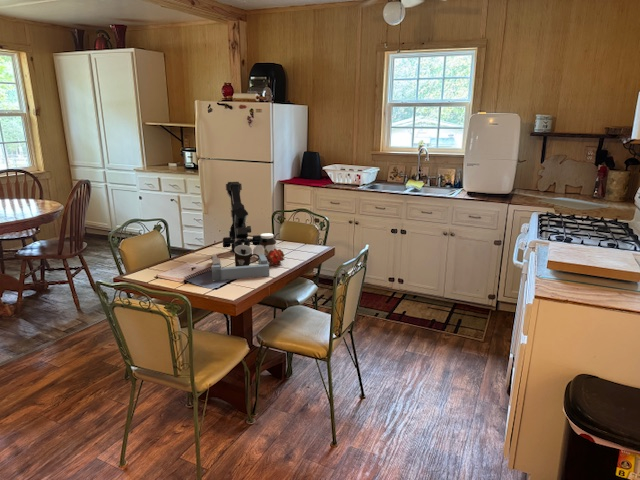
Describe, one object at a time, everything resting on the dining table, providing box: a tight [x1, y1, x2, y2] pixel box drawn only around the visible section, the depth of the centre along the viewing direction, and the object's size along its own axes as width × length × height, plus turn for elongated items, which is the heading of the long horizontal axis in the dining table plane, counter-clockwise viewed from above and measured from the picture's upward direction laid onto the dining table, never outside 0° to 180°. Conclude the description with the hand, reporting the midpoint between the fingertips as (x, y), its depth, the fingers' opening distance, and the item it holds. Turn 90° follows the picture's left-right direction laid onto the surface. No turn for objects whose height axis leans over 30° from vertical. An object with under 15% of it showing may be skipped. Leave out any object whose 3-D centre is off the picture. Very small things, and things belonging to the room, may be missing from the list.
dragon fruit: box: [266, 248, 286, 266], centre depth 227 cm, size 8×8×12 cm
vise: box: [211, 255, 270, 281], centre depth 212 cm, size 14×26×6 cm, turn 106°
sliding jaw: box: [210, 253, 222, 266], centre depth 218 cm, size 25×4×6 cm, turn 16°
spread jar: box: [252, 232, 278, 259], centre depth 240 cm, size 12×11×12 cm
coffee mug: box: [233, 244, 259, 267], centre depth 216 cm, size 12×9×10 cm
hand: (243, 256), depth 218 cm, fingers closed
